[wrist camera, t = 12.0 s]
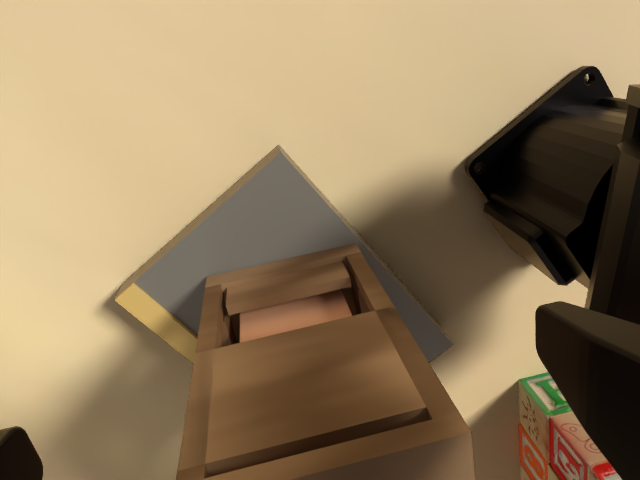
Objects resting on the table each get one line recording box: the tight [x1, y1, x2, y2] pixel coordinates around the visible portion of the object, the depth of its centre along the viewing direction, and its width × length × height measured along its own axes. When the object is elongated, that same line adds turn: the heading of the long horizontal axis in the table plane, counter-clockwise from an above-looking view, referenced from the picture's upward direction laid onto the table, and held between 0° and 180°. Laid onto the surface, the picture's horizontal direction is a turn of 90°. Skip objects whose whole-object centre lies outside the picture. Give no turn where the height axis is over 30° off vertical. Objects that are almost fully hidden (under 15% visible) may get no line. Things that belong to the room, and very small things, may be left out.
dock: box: [114, 145, 453, 364], centre depth 22 cm, size 9×12×2 cm
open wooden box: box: [176, 243, 475, 480], centre depth 16 cm, size 6×6×11 cm
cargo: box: [240, 289, 352, 343], centre depth 18 cm, size 4×4×4 cm
